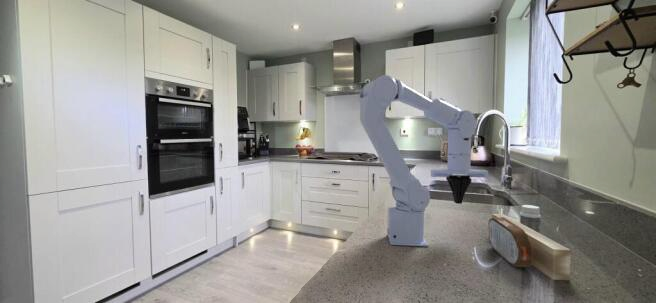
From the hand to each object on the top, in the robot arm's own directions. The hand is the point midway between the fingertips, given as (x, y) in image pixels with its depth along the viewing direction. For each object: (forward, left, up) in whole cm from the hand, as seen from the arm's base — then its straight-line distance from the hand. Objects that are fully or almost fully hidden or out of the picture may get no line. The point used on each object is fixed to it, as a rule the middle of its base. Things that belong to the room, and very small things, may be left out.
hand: (457, 202), depth 74 cm
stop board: (+12, -10, -9) cm, 18 cm away
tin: (+6, -13, -10) cm, 17 cm away
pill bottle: (+20, +2, -10) cm, 22 cm away
